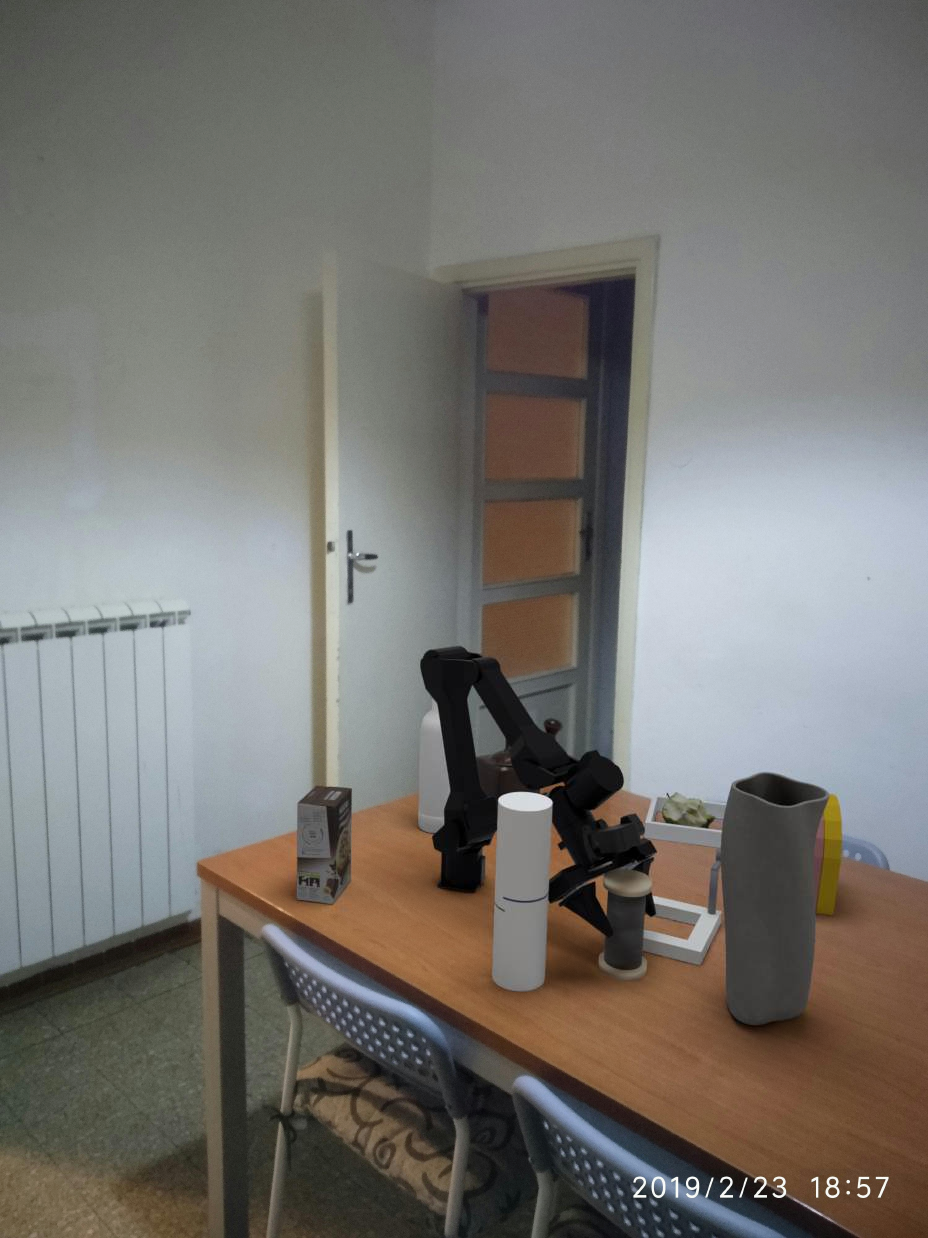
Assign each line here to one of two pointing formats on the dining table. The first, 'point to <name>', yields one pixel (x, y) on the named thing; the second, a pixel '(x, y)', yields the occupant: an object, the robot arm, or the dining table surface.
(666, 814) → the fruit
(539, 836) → the cylindrical container
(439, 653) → the robot arm
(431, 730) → the bottle
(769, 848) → the vase
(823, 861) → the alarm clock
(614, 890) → the disc
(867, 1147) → the dining table surface
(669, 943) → the rectangular frame
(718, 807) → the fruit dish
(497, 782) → the coffee grinder
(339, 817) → the coffee box
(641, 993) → the dining table surface
